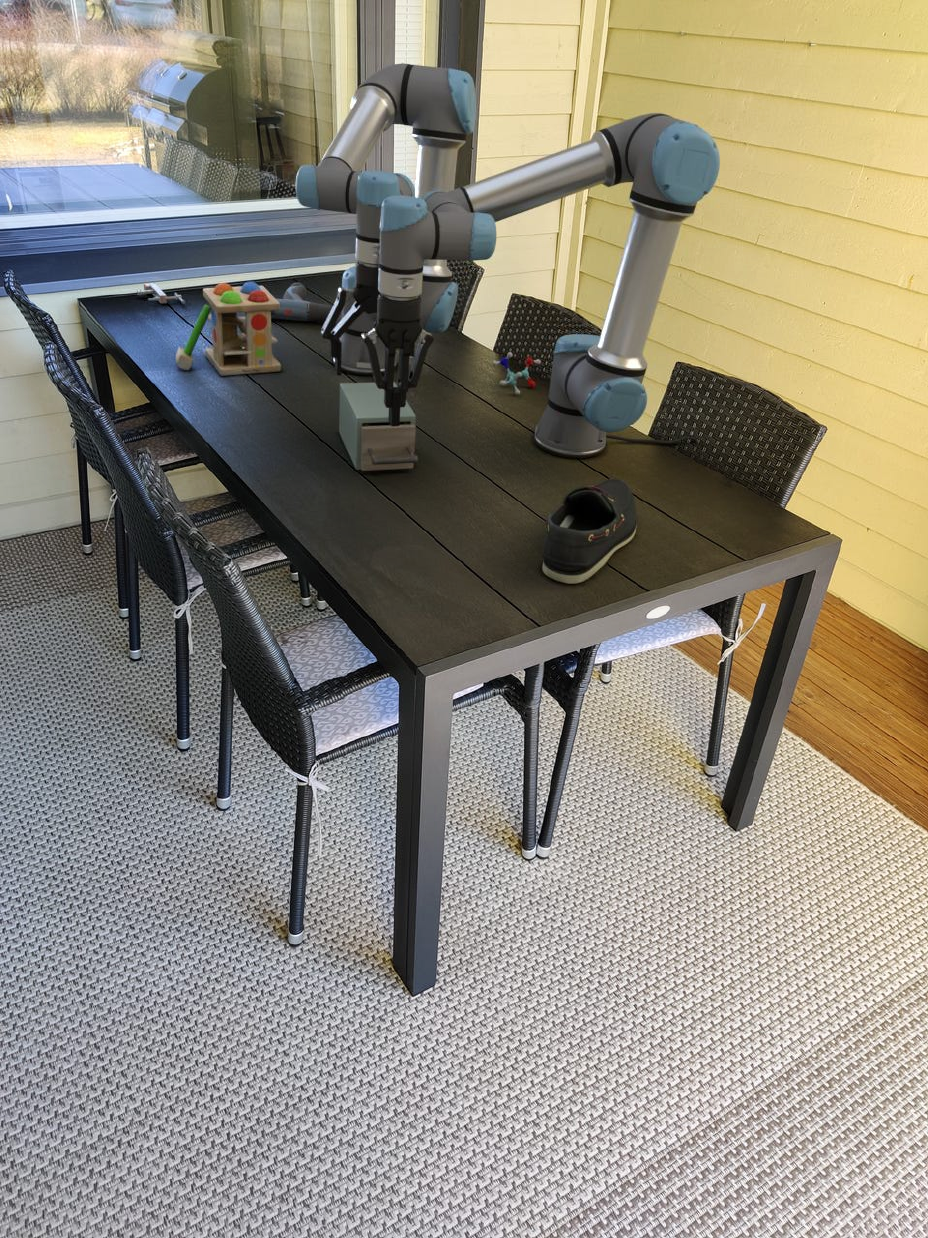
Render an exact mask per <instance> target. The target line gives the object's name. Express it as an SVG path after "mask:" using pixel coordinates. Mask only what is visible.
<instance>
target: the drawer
mask: <svg viewBox="0 0 928 1238" xmlns="http://www.w3.org/2000/svg"><path fill="white" fill-rule="evenodd" d="M416 427H417V426H416V424H415V425H414V424H411V425H408V423H407V421H403V422H400V426H391V424H390V423H389V422H378V423H362V438H361V470H360V471H362V472H368V471H386V470H388V471H389V470H405V469H407V470H408V469H414V464H417V463H418V461H419V457H418V455H415V448H416V447H415V445H416V430H417V428H416Z"/></svg>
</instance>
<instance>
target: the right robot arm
mask: <svg viewBox="0 0 928 1238" xmlns="http://www.w3.org/2000/svg"><path fill="white" fill-rule="evenodd" d="M720 156H721V155H720V151H719V148H718V146H717V143H716V141H715V140H714V138H713V137H712V135H711V134H710V133H709V132H707V131H706V130H704V129H703V128H702V127H700V126H699V125H697V124H696V123H693V122H691V121H685V120H682V119H680V118H676V117H673V116H671V115H668V114H665V113H662V112H650V113H649V112H648V113H645V114H641V115H637V116H633V117H631V118H629V119H626V120H623V121H619V122H618V123H615V124H612V125H610V126H608V127H604V128H602V129H599V130H596V131H594V133H592V136H591V138H590V140H586V141H584V142H581V143H578V144H575V145H573V146H570V147H567V148H565V149H562V150H560V151H557V152H554V153H551V154H549V155H546V156H544V157H541V158H538V159H535V160H533V161H530V162H527V163H524V164H522V165H518V166H516V167H513V168H510V169H507V170H505V171H502V172H500V173H496V174H494V175H492V176H489V177H486V178H483V179H481V180H477V181H475V182H472V183H470V184H466V185H464V186H460V187H459V188H454V190H452V191H449V192H446V193H445V192H442V191H431V192H428V193H426V194H425V195H424V196H423V197H422V198H417V197H412V196H411V197H410V196H403V195H398V196H390V197H388V198H386V199H385V200H384V201H383V203H382V209H381V219H380V225H379V228H380V250H379V276H378V291H379V292H380V294H379V295H378V303H377V320H376V322H375V324H374V329H373V330H371V331H370V332H368V333H362V335H361V338H362V339H363V341H364V343H365V344H366V346H367V350H368V354H369V359H370V364H371V368H372V373H373V375H372V377H373V383H375V384H376V386H377V387H378V388H379V389H384V404H385V406H386V408H389V416H388V421H389V423H390V424H391V426H400V407H405V405H406V401H407V393H408V392H409V390H410V389H415V388H417V386H418V383H419V380H420V377H421V373H422V370H423V367H424V364H425V360H426V356H427V353H428V350H429V349H430V347H431V346H432V344H433V343H434V341H435V337H434V336H433V335H432V333H431V332H426V331H425V330H423V328H422V325H421V322H420V316H421V298H420V296H419V295H420V294H421V293H422V278H423V264H424V260H425V259H429V260H447V261H468V262H469V261H470V262H474V261H486V260H489V259H491V258H492V257H493V254H494V252H495V250H496V245H497V226H496V225H497V224H496V223H497V222H500V221H503V220H506V219H509V218H511V217H515V216H517V215H520V214H523V213H525V212H528V211H531V210H533V209H537V208H539V207H543V206H544V205H547V204H551V203H552V202H555V201H558V200H561V199H563V198H567V197H569V196H573V195H575V194H578V193H580V192H584V191H586V190H589V189H591V188H594V187H596V186H600V185H603V186H605V187H607V188H611V187H615V186H617V185H620V184H625V183H632V185H631V190H630V192H629V197H628V200H629V202H630V205H631V206H632V208H633V214H632V219H631V221H630V226H629V230H628V233H627V236H626V241H625V243H624V247H623V251H622V254H621V258H620V263H619V265H618V270H617V273H616V277H615V281H614V285H613V287H612V290H611V291H612V292H611V295H610V298H609V301H608V305H607V310H606V314H605V317H604V321H603V325H602V329H601V332H600V335H595V334H586V333H585V334H583V333H575V334H565V335H563V336H560V337H559V338H558V339H557V341H556V343H555V348H554V351H553V359H552V367H551V374H550V382H549V391H548V398H547V405H546V407H545V409H544V412H543V414H542V415H541V418H540V419H539V422H538V423H536V426H535V427H534V436H533V441H534V443H535V445H536V447H538V448H539V449H541V450H542V451H544V452H547V453H549V454H550V455H554V456H558V457H563V458H567V459H590V458H593V457H598V456H599V455H601V454H603V453H604V452H605V450H606V445H607V439H610V440H616V441H617V440H618V441H624V442H627V443H628V442H629V443H637V444H639V443H640V444H642V443H643V444H656V445H657V444H659V445H673V444H678V443H681V442H684V441H687V440H689V439H688V438H689V437H687V436H688V435H686V436H683V437H680V438H677V439H673V440H658V439H646V438H644V439H642V438H641V439H640V438H630V437H629V438H628V437H624V436H619V435H612V434H606V433H617V432H622V431H624V430H627V429H628V428H629V427H631V426H633V425H634V424H636V422H638V421H639V420H640V419H641V417H642V416H643V414H644V413H645V411H646V408H647V404H648V394H647V391H646V388H645V386H644V384H643V382H644V379H645V375H646V373H647V369H648V362H647V360H646V358H645V356H644V350H645V347H646V345H647V344H646V343H647V341H648V338H649V333H650V330H651V327H652V323H653V321H654V317H655V314H656V310H657V307H658V303H659V301H660V297H661V293H662V290H663V286H664V283H665V280H666V277H667V273H668V270H669V267H670V264H671V260H672V258H673V253H674V250H675V248H676V244H677V240H678V237H679V233H680V230H681V227H682V224H683V223H684V222H685V221H686V220H688V219H689V218H691V217H692V216H694V215H695V210H696V207H697V205H698V202H699V201H701V200H702V199H704V197H705V196H706V195H708V194H709V193H710V192H711V191H712V189H713V188H714V186H715V184H716V181H717V180H718V176H719V172H720V167H721V157H720ZM377 335H378V336H379V338H380V339H381V341H382V342H383V344H384V345H385V368H384V374H381V370H380V365H379V360H378V355H377V351H376V348H375V346H374V344H376V342H377V340H376V336H377ZM418 336H419V338H418ZM417 338H418V339H417ZM416 339H417V340H418V343H417V346H416V348H415V352H414V356H413V360H412V364H411V366H410V356H409V355H410V346H411V345H412V344H413V343H414V341H415V340H416ZM397 350H398V368H397V369H398V370H397V371H398V372H397V387H393V385H394V382H395V369H394V364H395V355H396V356H397ZM408 366H409V367H410V369H409V374H408ZM690 440H691V441H693V442H694V443H696V444H698V443H699V440H698V439H697V438H696V439H690Z"/></svg>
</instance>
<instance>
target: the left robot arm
mask: <svg viewBox="0 0 928 1238" xmlns="http://www.w3.org/2000/svg"><path fill="white" fill-rule="evenodd" d="M476 121H477V95H476V87H475V81H474V78H473V77H472V76H471V74H470V73H469V72H467V71H465V70H460V69H455V68H452V67H448V68H446V67H440V66H439V67H438V66H429V65H419V64H410V63H406V62H405V63H404V62H403V63H402V62H401V63H394V64H391V65H388V66H385V67H382V68H381V69H379V70H377V71H375V72H373V73H372V74H371V75H369V76H368V77H367V78H365V80H363V81H362V82H361V83H360V85H359V86H358V87H357V88H356V90H355V92H354V93H353V95H352V97H351V101H350V110H349V112H348V114H347V115H346V117H345V119H344V121H343V122H342V124H341V126H340V128H339V129H338V131H337V133H336V135H334V138H333V139H332V141H331V143H330V145H329V146H328V148H327V150H326V151H325V153H324V155H323V157H322V158H321V160H320V161H319V163H318V165H315V164H304V165H301V166H300V167H299V169H298V171H297V174H296V178H295V194H296V198H297V201H298V203H299V205H300V206H302V207H305V208H309V209H315V210H317V211H320V210H321V211H329V212H338V213H343V214H344V213H345V214H350V215H351V214H352V215H356V218H355V219H356V221H355V222H356V225H355V226H356V227H355V228H356V229H355V234H356V235H355V236H356V237H355V257H354V259H355V260H356V262H355V265H354V266H351V267H349V268H346V270H345V271H344V272H343V274H342V281H341V286H339V287H338V288H337V292H336V293H337V294H336V299H335V301H334V303H333V305H332V309H331V311H330V313H329V315H328V317H327V319H326V321H324V323H323V325H322V327H321V329H320V331H319V332H320V333H319V334H320V335H321V337H322V338H323V339H324V340H328V341H329V354H330V357H331V358H333V361H332V362H333V363H332V364H333V366H334V372H335V373H336V374H335V375H336V376H342V372H344V373H347V374H352V375H356V376H373V373H372V368H371V364H370V359H369V354H368V350H367V346H366V344H365V343H364V341H363V339H362V338H361V335H362V333H368V332H370V331H371V330H373V329H374V324H375V322H376V320H377V303H378V295H379V294H380V292H379V291H378V276H379V250H380V228H379V225H380V219H381V209H382V203H383V201H384V200H385V199H386V198H388V197H390V196H398V195H403V196H410V197H411V196H412V197H417V198H422V197H423V196H424V195H425V194H426V193H428V192H431V191H442V192H445V193H446V192H449V191H452V190H455V181H456V172H457V171H456V170H457V162H458V160H457V159H458V151H459V149H460V148H461V147H463V145H465V144H466V141H467V135H470V134H473V133H474V132H475V129H476ZM392 125H399V126H400V125H401V126H405V127H406V126H409V127H412V133H411V136H412V138H413V139H414V141H415V142H416V143H417V157H416V158H417V159H416V170H415V183H414V182H413V181H412V180H411V179H410V178H409V177H408V176H406V175H405V174H403V173H401V172H389V171H384V170H365V171H362V170H363V168H364V166H365V165H366V163H367V161H368V159H369V157H370V155H371V154H372V152H373V151H374V148H375V146H376V144H377V142H378V140H379V139H380V137H381V135H382V133H384V132H385V131H388V130H389V129H390V128H391V127H392ZM447 261H448V260H429V259H425V260H424V264H423V278H422V293H421V294H420V295H419V296H420V298H421V316H420V322H421V325H422V328H423V330H425V331H426V332H430V333H431V334H442V333H444V332H446V330H447V329H448V328H449V326H450V323H451V322H452V320H453V319H452V318H453V316H454V312H455V309H456V305H457V301H458V294H459V286H458V284H457V283H456V282H455V281H452V280H453V273H452V271H451V270H450V269H449V267H448V264H447V263H448V262H447ZM340 315H341V319H340V321H339V322H338V323H337V321H338V320H339V317H340ZM336 323H337V324H336ZM418 338H419V336H418ZM418 338H417V339H416V340H415V341H414V343H413V344H412V345H411V346H410V355H409V357H414V356H415V353H416V342H417V341H418V340H419V339H418ZM376 340H377V342H376V344H374V346H375V348H376V351H377V355H378V360H379V365H380V370H381V375H384V368H385V345H384V344H383V342H382V341H381V339H380V338H379V336H378V335H377V336H376ZM396 368H397V354H396V355H395V364H394V370H395V369H396ZM409 373H410V365H409V366H408V375H409Z"/></svg>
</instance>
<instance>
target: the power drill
mask: <svg viewBox="0 0 928 1238" xmlns="http://www.w3.org/2000/svg"><path fill="white" fill-rule="evenodd" d="M307 295H308V290H307V287H306V285H304V284H303V283H301V282H293V283H292V284H291V285H290V286H289V287H288V288H287V289H286V291H285V292H284V294H283V297H282V298H275V299H276V300H277V301H278V302H279V303H280V310H271V319H274V320H275V319H276V320H283V321H294V322H295V321H297V322H325V321H326V319H327V317H328V315H329V313H330V311H331V309H332V307H333V305H331V304H324V303H317V302H313V301H307V300H305V299H306V297H307Z"/></svg>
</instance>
